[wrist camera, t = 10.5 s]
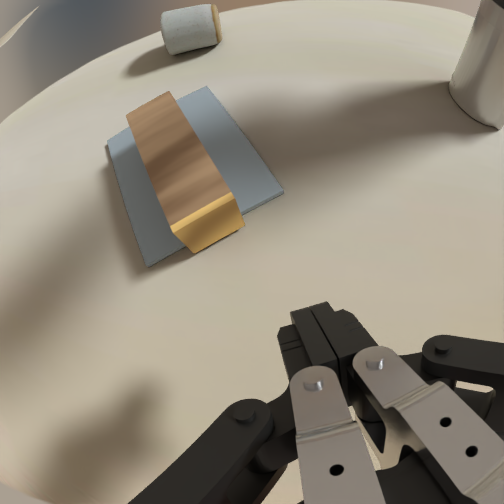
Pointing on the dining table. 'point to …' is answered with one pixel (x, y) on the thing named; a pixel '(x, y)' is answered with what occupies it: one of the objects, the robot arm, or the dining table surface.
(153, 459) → the dining table surface
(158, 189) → the walnut block
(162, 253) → the slate mat
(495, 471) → the robot arm
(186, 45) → the ceramic mug
